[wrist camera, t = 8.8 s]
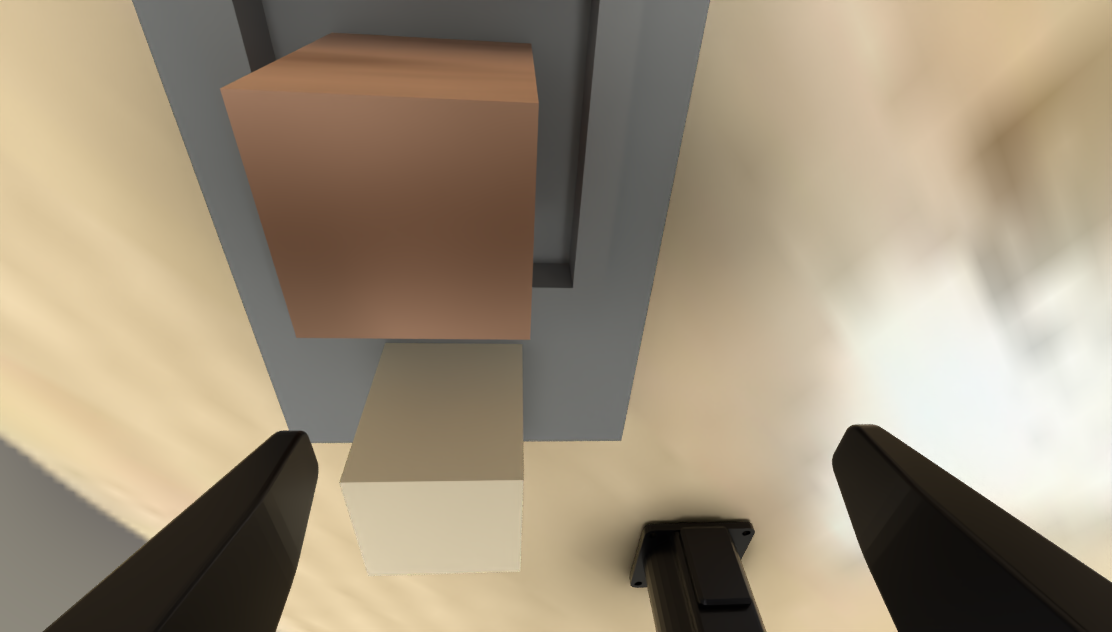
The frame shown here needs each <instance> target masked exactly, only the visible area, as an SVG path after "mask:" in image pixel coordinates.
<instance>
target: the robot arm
mask: <svg viewBox="0 0 1112 632" xmlns="http://www.w3.org/2000/svg"><path fill="white" fill-rule="evenodd" d="M832 466H833V471H834V474H835V476H836V479H837V482H838V485H839V488H840V491H841V494H842V497H843V500H844V503H845V505H846V508H847V511H848V514H849V517H850V520H851V523H852V526H853V529H854V531H855V534H856V537H857V540H858V543H859V545H860V548H861V551H862V553H863V556H864V558H865V560H866V563H867V565H868V567H869V570H870V572H871V574H872V576H873V578H874V580H875V583H876V585H877V587H878V589H879V591H880V594H881V596H882V598H883V600H884V602H885V604H886V607H887V609H888V611H889V613H890V615H891V617H892V620H893V622H894V624H895V626H896V628H897V630H898V632H1112V582H1110V581H1109V580H1107V579H1106V578H1104V577H1103V576H1101V575H1100V574H1098V573H1097V572H1096V571H1094V570H1093V569H1091V568H1090V567H1088V566H1087V565H1085V564H1084V563H1082V562H1081V561H1079V560H1078V559H1076V558H1075V557H1073V556H1072V555H1070V554H1069V553H1067V552H1066V551H1064V550H1063V549H1061V548H1060V547H1058V546H1057V545H1055V544H1054V543H1052V542H1051V541H1049V540H1048V539H1046V538H1045V537H1043V536H1042V535H1040V534H1039V533H1037V532H1036V531H1035V530H1033V529H1032V528H1030V527H1029V526H1027V525H1026V524H1024V523H1023V522H1021V521H1020V520H1018V519H1017V518H1015V517H1014V516H1012V515H1011V514H1009V513H1008V512H1006V511H1005V510H1003V509H1002V508H1000V507H999V506H997V505H996V504H994V503H993V502H991V501H990V500H988V499H987V498H985V497H984V496H982V495H981V494H979V493H978V492H976V491H975V490H973V489H972V488H971V487H969V486H968V485H966V484H965V483H963V482H962V481H960V480H959V479H957V478H956V477H954V476H953V475H951V474H950V473H948V472H947V471H945V470H944V469H942V468H941V467H939V466H938V465H936V464H935V463H933V462H932V461H930V460H929V459H927V458H926V457H924V456H923V455H921V454H920V453H918V452H917V451H915V450H914V449H912V448H911V447H910V446H908V445H907V444H905V443H904V442H902V441H901V440H899V439H898V438H896V437H895V436H893V435H892V434H890V433H889V432H887V431H886V430H884V429H883V428H881V427H879V426H877V425H873V424H859V425H852V426H850V427H849V428H848V429H847V430H846V432H845V434H844V436H843V438H842V439H841V441H840V443H839V445H838V447H837V449H836V451H835V452H834V454H833V458H832ZM317 479H318V462H317V459H316V456H315V453H314V451H313V448H312V445H311V442H310V439H309V436H308V434H307V433H306V432H304V431H301V430H295V431H279V432H276V433H275V434H273V435H272V436H271V437H269V438H268V439H267V440H266V441H265V442H264V443H262V444H261V445H260V446H259V447H258V448H257V449H255V450H254V451H253V452H252V453H251V454H250V455H248V456H247V457H246V458H245V459H244V460H243V461H241V462H240V463H239V464H238V465H237V466H236V467H234V468H233V469H232V470H231V471H230V472H229V473H227V474H226V475H225V476H224V477H223V478H222V479H220V480H219V481H218V482H217V483H216V484H215V485H213V486H212V487H211V488H210V489H209V490H208V491H206V492H205V493H204V494H203V495H202V496H201V497H199V498H198V499H197V500H196V501H195V502H194V503H192V504H191V505H190V506H189V507H188V508H187V509H185V510H184V511H183V512H182V513H181V514H180V515H178V516H177V517H176V518H175V519H174V520H172V521H171V522H170V523H169V524H168V525H167V526H165V527H164V528H163V529H162V530H161V531H160V532H158V533H157V534H156V535H155V536H154V537H153V538H151V539H150V540H149V541H148V542H147V543H146V544H144V545H143V546H142V547H141V548H140V549H139V550H137V551H136V552H135V553H134V554H133V555H132V556H130V557H129V558H128V559H127V560H126V561H125V562H123V563H122V564H121V565H120V566H119V567H118V568H116V569H115V570H114V571H113V572H112V573H111V574H110V575H108V576H107V577H106V578H105V579H104V580H102V581H101V582H100V583H99V584H98V585H97V586H96V587H94V588H93V589H92V590H91V591H90V592H88V593H87V594H86V595H85V596H84V597H83V598H81V599H80V600H79V601H78V602H77V603H76V604H74V605H73V606H72V607H71V608H70V609H68V610H67V611H66V612H65V613H64V614H63V615H61V616H60V617H59V618H58V619H57V620H56V621H55V622H53V623H52V624H51V625H50V626H49V627H48V628H46V629H45V630H44V631H43V632H276V629H277V626H278V623H279V621H280V618H281V615H282V612H283V609H284V606H285V603H286V600H287V597H288V595H289V592H290V589H291V586H292V583H293V579H294V576H295V573H296V570H297V566H298V562H299V558H300V554H301V549H302V545H303V541H304V536H305V532H306V527H307V523H308V519H309V514H310V510H311V506H312V501H313V497H314V492H315V488H316V484H317ZM754 533H755V530H754V528H753V525H752V524H751V523H750V522H725V523H679V524H650V525H647V526H645V527H644V529H643V531H642V535H641V538H640V542H639V545H638V549H637V552H636V556H635V560H634V563H633V567H632V570H631V574H630V577H629V578H630V584H631V586H632V587H636V588H639V587H648V592H649V597H650V602H651V607H652V612H653V617H654V622H655V627H656V632H766V630H765V627H764V624H763V621H762V618H761V616H760V613H759V610H758V607H757V604H756V602H755V599H754V596H753V593H752V590H751V588H750V585H749V582H748V579H747V577H746V574H745V571H744V568H743V565H742V563H741V559H742V557H743V555H744V553H745V551H746V549H747V547H748V545H749V543H750V541H751V539H752V537H753V535H754Z"/></svg>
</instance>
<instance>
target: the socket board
mask: <svg viewBox="0 0 1112 632" xmlns="http://www.w3.org/2000/svg"><path fill="white" fill-rule="evenodd" d="M132 2H133V4H134V7H135V10H136V13H137V15H138V18H139V21H140V24H141V26H142V29H143V32H144V35H145V37H146V40H147V43H148V45H149V48H150V51H151V54H152V56H153V59H154V62H155V65H156V67H157V70H158V73H159V76H160V78H161V81H162V84H163V86H164V89H165V92H166V95H167V97H168V100H169V103H170V106H171V108H172V111H173V114H174V117H175V119H176V122H177V125H178V127H179V130H180V133H181V136H182V138H183V141H184V144H185V147H186V149H187V152H188V155H189V158H190V160H191V163H192V166H193V168H194V171H195V174H196V177H197V179H198V182H199V185H200V188H201V190H202V193H203V196H204V199H205V201H206V204H207V207H208V210H209V212H210V215H211V218H212V220H213V223H214V226H215V229H216V231H217V234H218V237H219V240H220V242H221V245H222V248H223V251H224V253H225V256H226V259H227V261H228V264H229V267H230V270H231V272H232V275H233V278H234V281H235V283H236V286H237V289H238V292H239V294H240V297H241V300H242V302H243V305H244V308H245V311H246V313H247V316H248V319H249V322H250V324H251V327H252V330H253V333H254V335H255V338H256V341H257V344H258V346H259V349H260V352H261V354H262V357H263V360H264V363H265V365H266V368H267V371H268V374H269V376H270V379H271V382H272V385H273V387H274V390H275V393H276V395H277V398H278V401H279V404H280V406H281V409H282V412H283V415H284V417H285V420H286V423H287V426H288V428H289V431H295V430H301V431H304V432H306V433H307V434H308V436H309V439H310V442H311V443H352V446H351V449H350V452H349V455H348V458H347V461H346V464H345V467H344V470H343V473H342V476H341V479H340V482H339V483H340V486H341V490H342V493H343V496H344V499H345V503H346V506H347V509H348V512H349V516H350V519H351V522H352V525H353V529H354V532H355V535H356V538H357V542H358V545H359V548H360V551H361V554H362V558H363V561H364V564H365V567H366V571H367V574H368V576H390V575H425V574H460V573H494V572H520V569H521V541H522V513H523V484H524V465H523V441H621V439H622V434H623V429H624V424H625V419H626V414H627V409H628V404H629V399H630V394H631V389H632V384H633V380H634V375H635V370H636V365H637V360H638V355H639V350H640V345H641V340H642V335H643V330H644V325H645V320H646V315H647V310H648V305H649V300H650V295H651V290H652V285H653V280H654V275H655V270H656V266H657V261H658V256H659V251H660V246H661V241H662V236H663V231H664V226H665V221H666V216H667V211H668V206H669V201H670V196H671V191H672V186H673V181H674V176H675V171H676V166H677V161H678V157H679V152H680V147H681V142H682V137H683V132H684V127H685V122H686V117H687V112H688V107H689V102H690V97H691V92H692V87H693V82H694V77H695V72H696V67H697V62H698V57H699V52H700V47H701V43H702V38H703V33H704V28H705V23H706V18H707V13H708V8H709V3H710V0H132ZM330 33H348V34H366V35H384V36H402V37H420V38H439V39H457V40H475V41H493V42H511V43H529V44H531V46H532V54H533V62H534V69H535V77H536V85H537V93H538V101H539V110H538V138H537V165H536V193H535V221H534V248H533V276H532V303H531V331H530V340H502V339H373V338H296V335H295V332H294V328H293V325H292V322H291V318H290V315H289V312H288V309H287V305H286V302H285V299H284V296H283V292H282V289H281V286H280V283H279V279H278V276H277V273H276V270H275V266H274V263H273V260H272V257H271V253H270V250H269V247H268V244H267V240H266V237H265V234H264V231H263V227H262V224H261V221H260V218H259V214H258V211H257V208H256V205H255V201H254V198H253V195H252V191H251V188H250V185H249V182H248V178H247V175H246V172H245V169H244V165H243V162H242V159H241V156H240V152H239V149H238V146H237V143H236V139H235V136H234V133H233V130H232V126H231V123H230V120H229V117H228V113H227V110H226V107H225V104H224V100H223V97H222V94H221V91H220V88H222V87H224V86H226V85H228V84H230V83H232V82H234V81H236V80H238V79H240V78H242V77H244V76H246V75H248V74H250V73H252V72H254V71H256V70H258V69H260V68H262V67H264V66H266V65H268V64H270V63H272V62H274V61H276V60H278V59H280V58H282V57H284V56H286V55H288V54H290V53H292V52H294V51H296V50H298V49H300V48H302V47H304V46H306V45H308V44H310V43H312V42H314V41H316V40H318V39H320V38H322V37H324V36H326V35H328V34H330Z"/></svg>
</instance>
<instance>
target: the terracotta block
mask: <svg viewBox="0 0 1112 632" xmlns="http://www.w3.org/2000/svg"><path fill="white" fill-rule="evenodd" d="M220 91H221V94H222V97H223V100H224V104H225V107H226V110H227V113H228V117H229V120H230V123H231V126H232V130H233V133H234V136H235V139H236V143H237V146H238V149H239V152H240V156H241V159H242V162H243V165H244V169H245V172H246V175H247V178H248V182H249V185H250V188H251V191H252V195H253V198H254V201H255V205H256V208H257V211H258V214H259V218H260V221H261V224H262V227H263V231H264V234H265V237H266V240H267V244H268V247H269V250H270V253H271V257H272V260H273V263H274V266H275V270H276V273H277V276H278V279H279V283H280V286H281V289H282V292H283V296H284V299H285V302H286V305H287V309H288V312H289V315H290V318H291V322H292V325H293V328H294V332H295V335H296V338H373V339H502V340H530V331H531V303H532V276H533V248H534V221H535V193H536V165H537V138H538V110H539V101H538V93H537V85H536V77H535V69H534V62H533V54H532V46H531V44H529V43H511V42H493V41H475V40H457V39H439V38H420V37H402V36H384V35H366V34H348V33H330V34H328V35H326V36H324V37H322V38H320V39H318V40H316V41H314V42H312V43H310V44H308V45H306V46H304V47H302V48H300V49H298V50H296V51H294V52H292V53H290V54H288V55H286V56H284V57H282V58H280V59H278V60H276V61H274V62H272V63H270V64H268V65H266V66H264V67H262V68H260V69H258V70H256V71H254V72H252V73H250V74H248V75H246V76H244V77H242V78H240V79H238V80H236V81H234V82H232V83H230V84H228V85H226V86H224V87H222V88H220Z"/></svg>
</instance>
